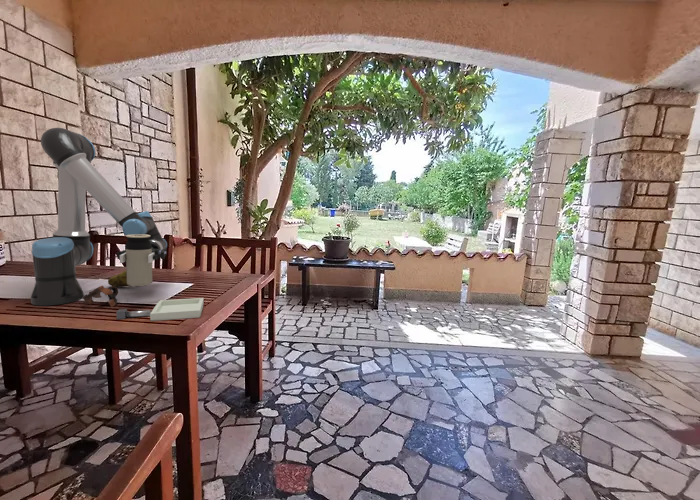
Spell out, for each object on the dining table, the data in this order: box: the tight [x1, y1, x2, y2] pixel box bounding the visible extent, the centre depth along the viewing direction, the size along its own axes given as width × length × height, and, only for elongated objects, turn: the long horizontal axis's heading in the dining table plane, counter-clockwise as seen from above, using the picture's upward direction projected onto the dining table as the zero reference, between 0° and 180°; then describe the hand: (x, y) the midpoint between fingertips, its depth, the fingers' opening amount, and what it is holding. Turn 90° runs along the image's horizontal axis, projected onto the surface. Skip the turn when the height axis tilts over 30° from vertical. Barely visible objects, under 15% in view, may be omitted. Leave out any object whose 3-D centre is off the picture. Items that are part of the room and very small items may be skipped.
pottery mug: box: [82, 285, 119, 308], centre depth 124 cm, size 12×10×8 cm
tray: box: [149, 297, 205, 322], centre depth 118 cm, size 15×15×2 cm
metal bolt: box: [116, 308, 152, 320], centre depth 112 cm, size 9×3×3 cm, turn 109°
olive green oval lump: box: [107, 270, 130, 288], centre depth 147 cm, size 8×13×8 cm, turn 74°
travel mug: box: [125, 234, 153, 287], centre depth 121 cm, size 8×8×18 cm
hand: (135, 259), depth 116 cm, fingers closed on travel mug, 8 cm apart
